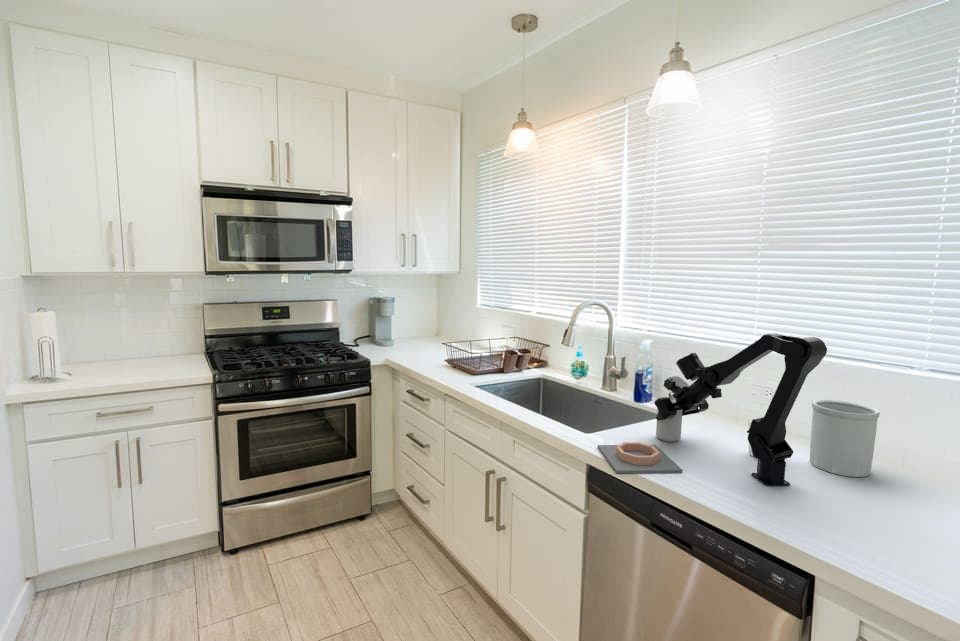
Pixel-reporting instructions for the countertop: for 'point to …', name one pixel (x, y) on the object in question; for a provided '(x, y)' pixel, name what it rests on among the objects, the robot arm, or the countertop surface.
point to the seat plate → (638, 458)
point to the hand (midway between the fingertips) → (665, 417)
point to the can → (669, 428)
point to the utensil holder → (843, 437)
